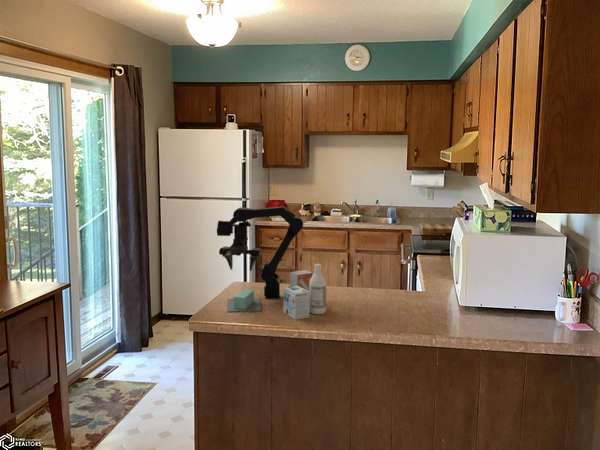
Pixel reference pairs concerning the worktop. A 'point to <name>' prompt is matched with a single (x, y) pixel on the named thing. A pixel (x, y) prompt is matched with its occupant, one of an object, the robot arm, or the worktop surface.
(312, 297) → the bath foam
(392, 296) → the worktop surface
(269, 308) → the worktop surface
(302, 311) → the light bulb box
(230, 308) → the mat
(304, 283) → the small box
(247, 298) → the teal block
